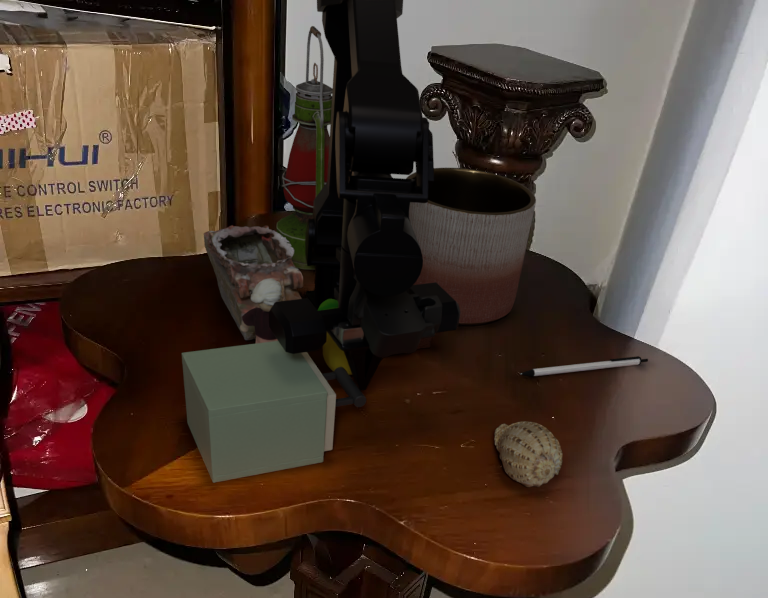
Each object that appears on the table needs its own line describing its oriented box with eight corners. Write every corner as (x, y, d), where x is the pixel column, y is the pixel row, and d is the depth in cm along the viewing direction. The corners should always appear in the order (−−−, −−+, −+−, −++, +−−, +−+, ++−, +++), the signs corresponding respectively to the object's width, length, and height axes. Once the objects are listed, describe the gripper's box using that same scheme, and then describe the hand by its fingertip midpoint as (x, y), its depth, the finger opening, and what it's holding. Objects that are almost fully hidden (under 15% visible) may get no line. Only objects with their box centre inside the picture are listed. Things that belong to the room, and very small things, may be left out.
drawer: (337, 396, 88) (340, 343, 84) (369, 443, 82) (375, 388, 77) (209, 416, 83) (206, 360, 78) (233, 468, 76) (231, 410, 72)
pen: (648, 364, 102) (650, 357, 102) (521, 378, 96) (523, 371, 96) (644, 361, 103) (646, 353, 102) (518, 375, 97) (520, 367, 96)
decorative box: (199, 350, 94) (194, 275, 88) (183, 278, 108) (177, 209, 102) (305, 344, 98) (308, 271, 92) (276, 275, 112) (276, 208, 106)
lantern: (353, 273, 115) (370, 42, 95) (283, 275, 112) (285, 38, 93) (331, 236, 125) (343, 20, 105) (266, 237, 122) (265, 15, 102)
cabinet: (290, 407, 87) (291, 338, 81) (323, 462, 80) (327, 391, 74) (187, 423, 83) (181, 352, 77) (212, 483, 76) (208, 410, 70)
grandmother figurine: (304, 384, 91) (308, 282, 83) (288, 399, 88) (290, 295, 80) (248, 365, 93) (246, 264, 85) (230, 379, 90) (226, 276, 82)
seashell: (471, 479, 85) (534, 497, 77) (465, 426, 83) (529, 439, 75) (523, 460, 88) (589, 476, 80) (519, 409, 86) (586, 420, 78)
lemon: (314, 361, 95) (318, 285, 88) (361, 361, 96) (368, 285, 90) (321, 391, 90) (326, 312, 84) (371, 390, 91) (379, 312, 85)
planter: (434, 340, 102) (452, 221, 92) (368, 283, 113) (378, 171, 103) (537, 318, 110) (565, 207, 100) (466, 267, 121) (484, 162, 110)
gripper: (307, 297, 64) (304, 448, 74) (500, 273, 70) (472, 415, 81) (265, 242, 71) (268, 387, 81) (444, 226, 78) (425, 361, 88)
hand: (360, 388), depth 83 cm, fingers closed
